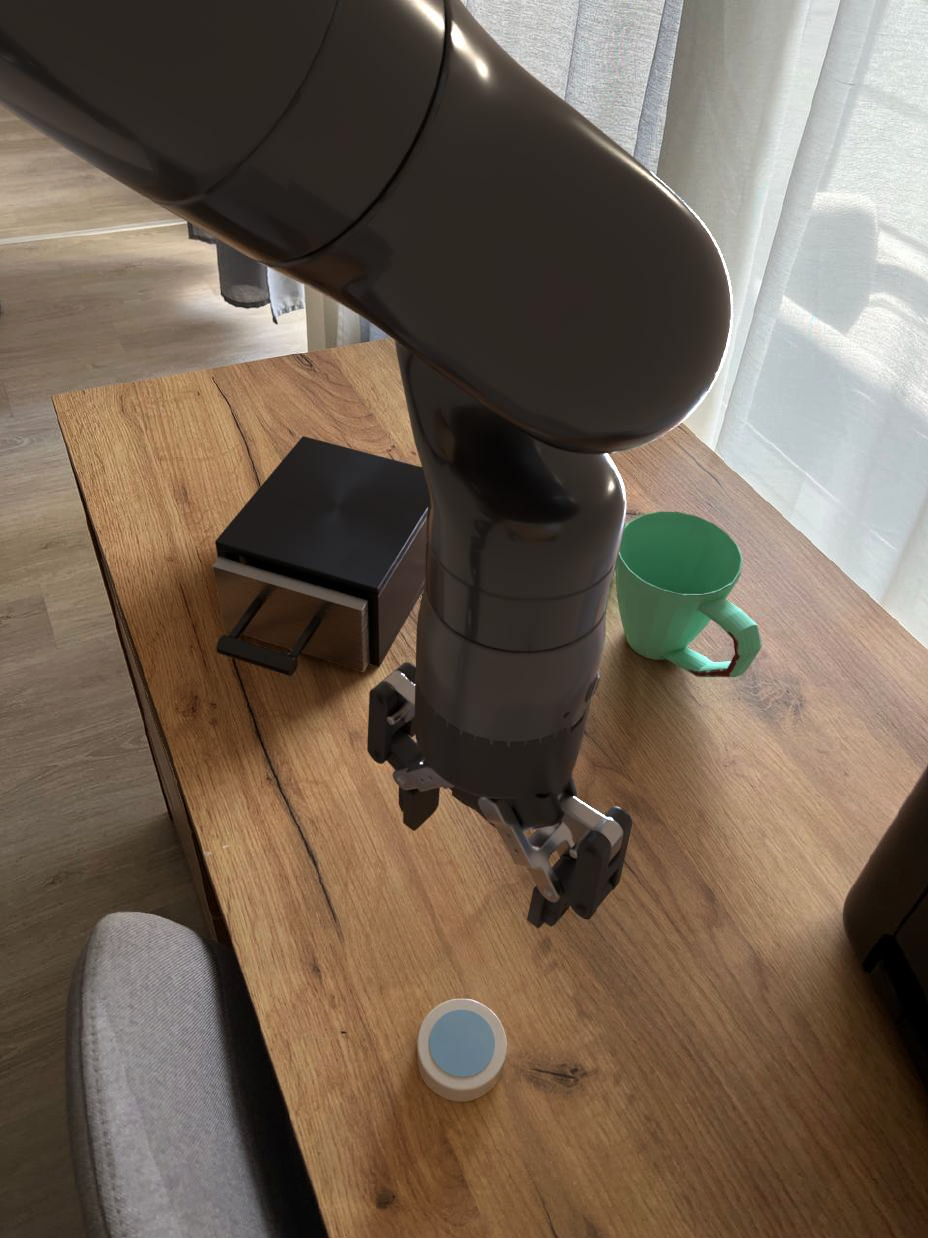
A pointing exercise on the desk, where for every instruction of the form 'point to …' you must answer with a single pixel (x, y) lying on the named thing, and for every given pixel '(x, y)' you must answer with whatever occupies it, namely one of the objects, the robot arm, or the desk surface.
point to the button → (461, 1049)
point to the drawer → (289, 617)
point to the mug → (681, 591)
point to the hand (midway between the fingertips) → (480, 863)
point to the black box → (341, 529)
